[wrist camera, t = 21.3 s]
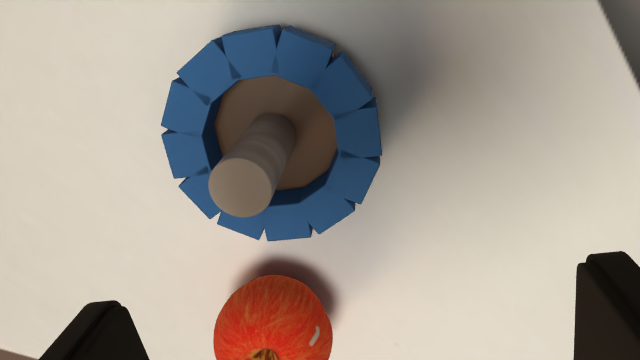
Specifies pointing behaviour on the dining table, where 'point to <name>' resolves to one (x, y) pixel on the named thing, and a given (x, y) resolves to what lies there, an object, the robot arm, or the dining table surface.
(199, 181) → the collar
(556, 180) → the dining table surface
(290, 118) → the peg on square base
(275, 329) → the apple
